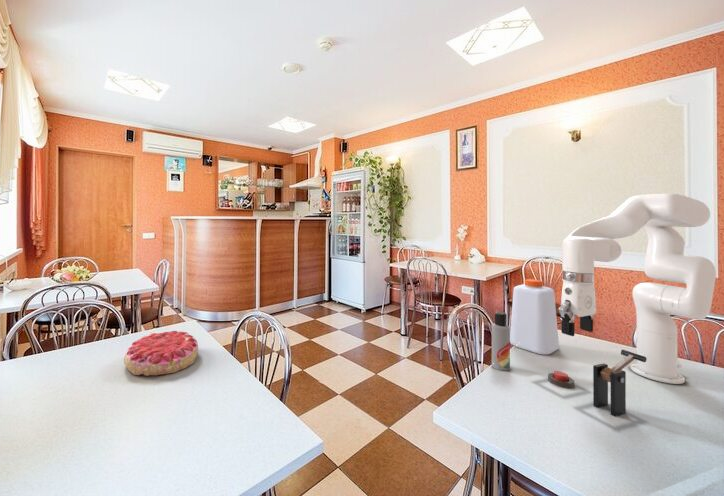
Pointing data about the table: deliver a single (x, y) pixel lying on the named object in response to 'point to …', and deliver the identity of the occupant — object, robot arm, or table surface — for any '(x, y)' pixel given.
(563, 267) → the robot arm
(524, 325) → the plastic bottle
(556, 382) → the button block
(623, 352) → the lever
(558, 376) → the button
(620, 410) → the bracket
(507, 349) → the lotion bottle
